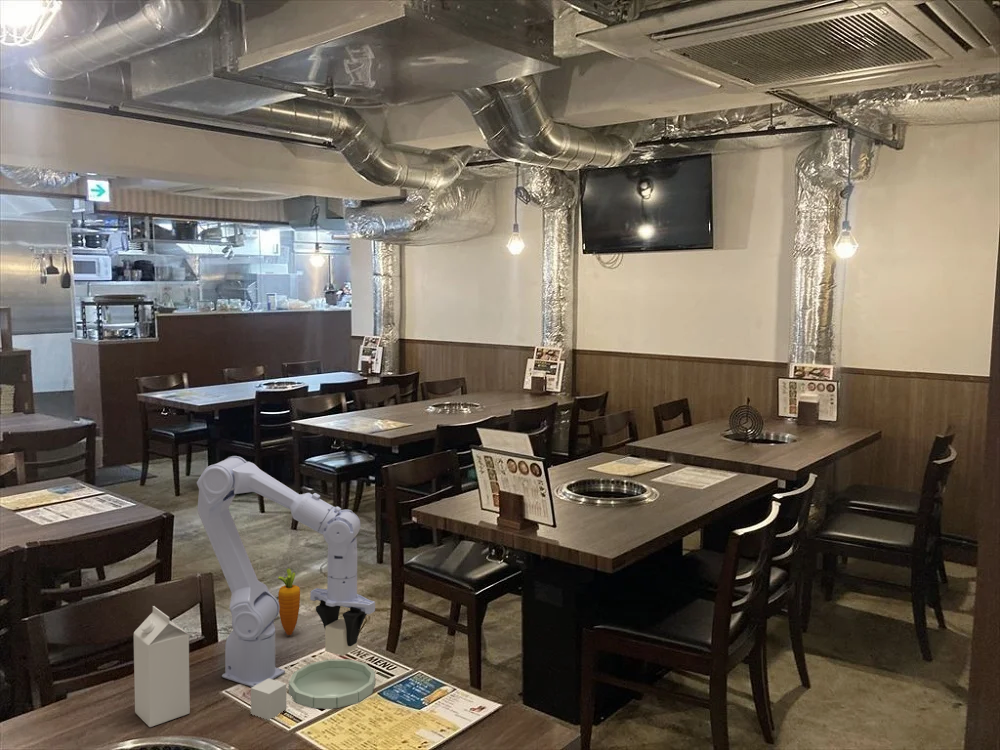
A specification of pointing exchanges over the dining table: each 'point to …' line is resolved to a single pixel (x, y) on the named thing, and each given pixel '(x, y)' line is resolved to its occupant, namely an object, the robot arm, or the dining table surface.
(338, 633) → the beige stone block
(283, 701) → the grey stone block
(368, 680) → the serving bowl
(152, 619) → the milk carton
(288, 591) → the carrot
